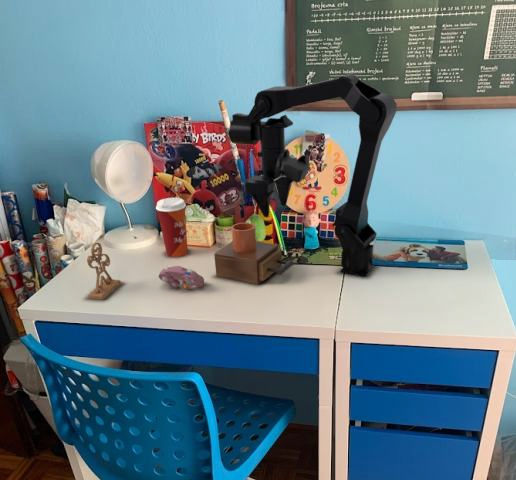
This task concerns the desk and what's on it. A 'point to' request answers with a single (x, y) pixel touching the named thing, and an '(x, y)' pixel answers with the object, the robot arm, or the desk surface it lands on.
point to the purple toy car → (181, 277)
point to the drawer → (273, 265)
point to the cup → (244, 237)
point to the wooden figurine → (109, 283)
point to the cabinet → (242, 262)
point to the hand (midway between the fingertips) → (275, 211)
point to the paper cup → (173, 225)
